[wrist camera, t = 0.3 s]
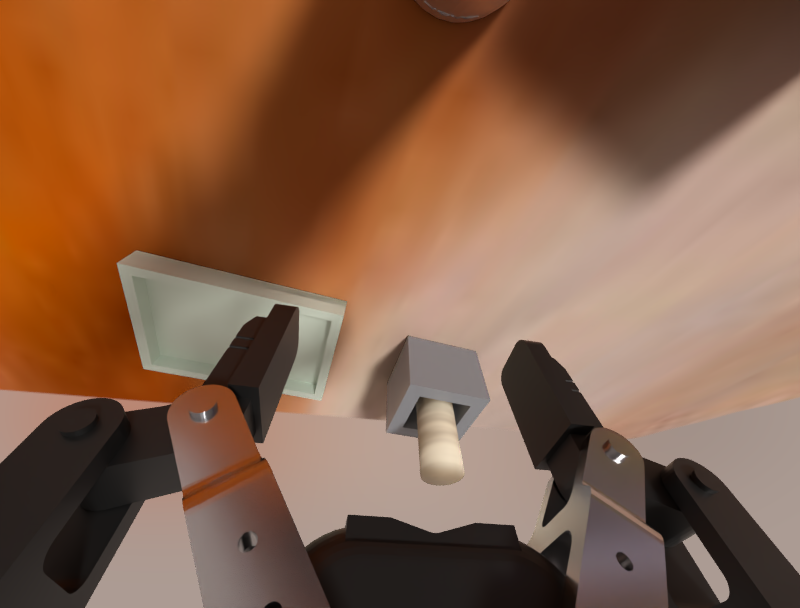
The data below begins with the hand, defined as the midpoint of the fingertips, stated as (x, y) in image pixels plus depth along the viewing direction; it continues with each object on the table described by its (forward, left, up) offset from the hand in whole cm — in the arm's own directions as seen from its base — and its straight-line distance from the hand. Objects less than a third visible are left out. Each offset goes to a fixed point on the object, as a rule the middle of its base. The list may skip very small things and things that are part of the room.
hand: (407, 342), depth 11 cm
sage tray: (+19, -12, -18) cm, 29 cm away
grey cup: (+19, +10, -18) cm, 28 cm away
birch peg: (+19, +10, -18) cm, 28 cm away
